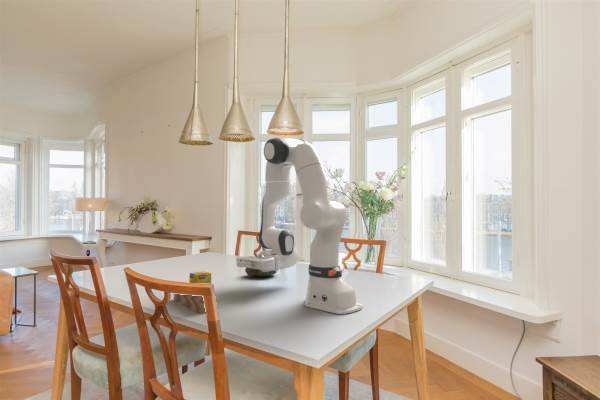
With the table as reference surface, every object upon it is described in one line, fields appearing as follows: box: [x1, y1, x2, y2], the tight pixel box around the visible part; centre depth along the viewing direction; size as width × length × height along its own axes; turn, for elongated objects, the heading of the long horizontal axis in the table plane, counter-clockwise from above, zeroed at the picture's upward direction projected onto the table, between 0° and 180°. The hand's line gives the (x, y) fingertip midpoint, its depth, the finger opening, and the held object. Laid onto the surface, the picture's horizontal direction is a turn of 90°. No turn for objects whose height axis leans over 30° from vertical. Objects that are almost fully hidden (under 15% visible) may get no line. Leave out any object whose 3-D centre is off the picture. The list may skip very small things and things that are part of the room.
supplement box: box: [188, 270, 212, 285], centre depth 130 cm, size 6×6×11 cm
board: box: [173, 293, 206, 315], centre depth 125 cm, size 22×3×6 cm, turn 42°
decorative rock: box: [244, 267, 278, 278], centre depth 177 cm, size 15×16×10 cm
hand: (238, 264), depth 140 cm, fingers closed
